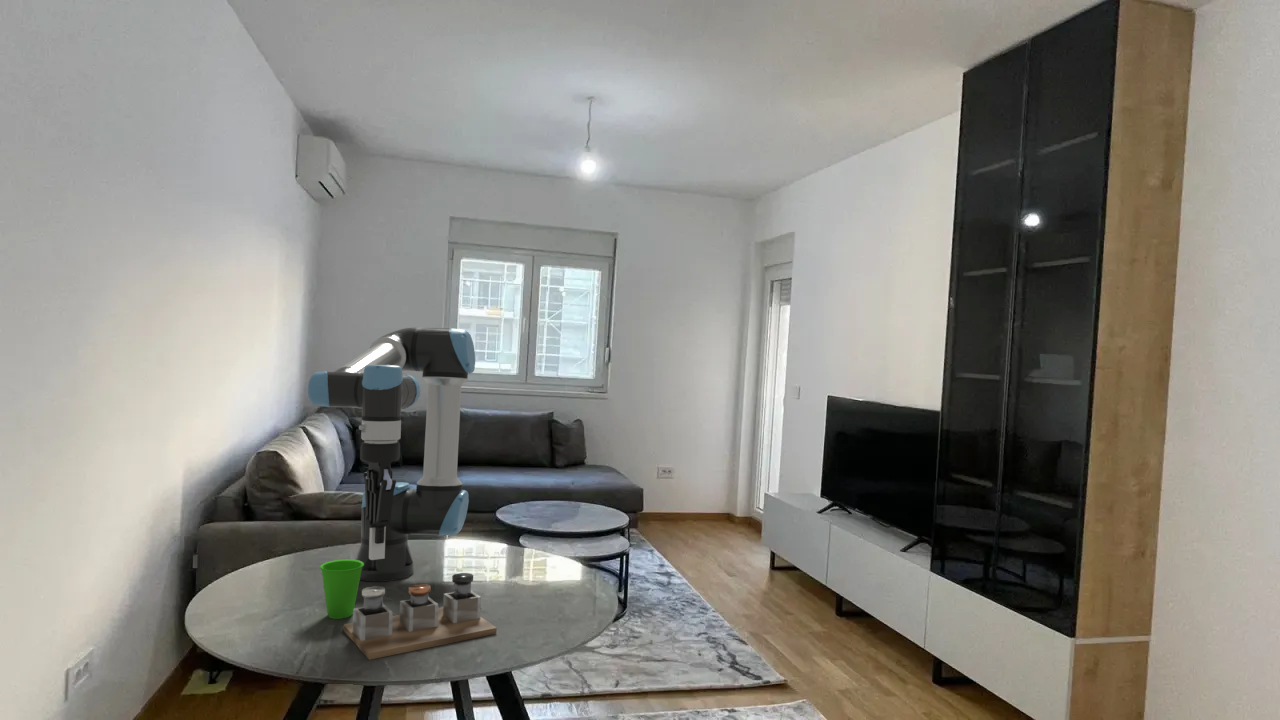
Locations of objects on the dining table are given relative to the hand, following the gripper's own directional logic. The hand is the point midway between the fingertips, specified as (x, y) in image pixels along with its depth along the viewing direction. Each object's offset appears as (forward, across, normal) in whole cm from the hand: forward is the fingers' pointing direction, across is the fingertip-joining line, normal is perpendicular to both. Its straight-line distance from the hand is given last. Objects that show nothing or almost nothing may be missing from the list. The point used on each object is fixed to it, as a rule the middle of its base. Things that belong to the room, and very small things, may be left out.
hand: (376, 558), depth 152 cm
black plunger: (+11, 0, +19) cm, 22 cm away
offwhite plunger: (+11, 0, 0) cm, 11 cm away
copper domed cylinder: (+12, 0, +9) cm, 15 cm away
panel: (+16, +1, +9) cm, 19 cm away
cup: (+16, -18, -2) cm, 24 cm away
